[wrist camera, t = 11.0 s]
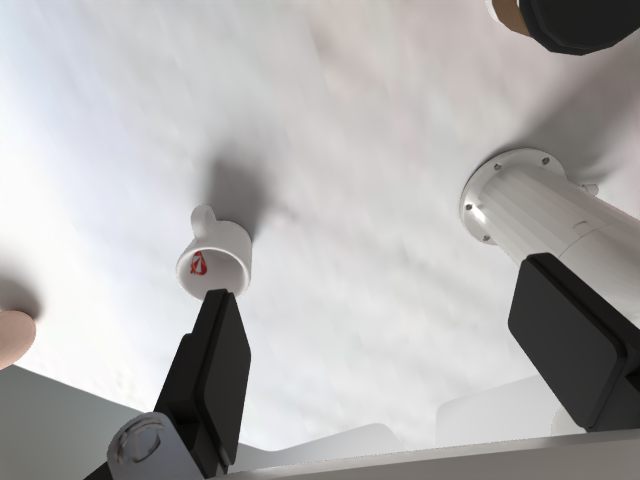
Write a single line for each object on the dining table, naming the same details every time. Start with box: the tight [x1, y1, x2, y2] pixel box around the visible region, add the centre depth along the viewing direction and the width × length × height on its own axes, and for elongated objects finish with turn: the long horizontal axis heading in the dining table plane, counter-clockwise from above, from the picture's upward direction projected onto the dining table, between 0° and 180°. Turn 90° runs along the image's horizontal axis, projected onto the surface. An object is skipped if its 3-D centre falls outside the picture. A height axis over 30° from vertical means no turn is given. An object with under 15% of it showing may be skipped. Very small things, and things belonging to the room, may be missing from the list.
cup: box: [176, 205, 252, 302], centre depth 40 cm, size 11×8×8 cm
